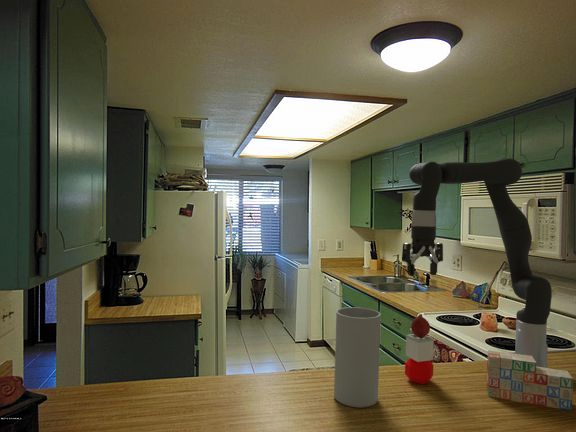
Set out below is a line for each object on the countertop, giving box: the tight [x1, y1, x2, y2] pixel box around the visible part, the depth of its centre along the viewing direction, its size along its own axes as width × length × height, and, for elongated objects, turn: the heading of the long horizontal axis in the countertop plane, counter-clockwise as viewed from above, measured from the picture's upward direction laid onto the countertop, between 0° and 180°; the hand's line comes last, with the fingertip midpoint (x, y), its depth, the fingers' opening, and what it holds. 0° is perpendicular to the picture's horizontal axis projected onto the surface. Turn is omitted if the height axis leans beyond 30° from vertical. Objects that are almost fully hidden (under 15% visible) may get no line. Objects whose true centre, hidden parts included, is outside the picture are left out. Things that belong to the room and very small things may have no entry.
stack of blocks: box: [486, 350, 574, 411], centre depth 123 cm, size 21×6×12 cm, turn 68°
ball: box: [404, 358, 434, 385], centre depth 134 cm, size 8×8×8 cm
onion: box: [410, 313, 431, 339], centre depth 134 cm, size 6×6×8 cm
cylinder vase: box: [333, 306, 381, 409], centre depth 120 cm, size 12×12×25 cm
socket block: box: [405, 333, 435, 362], centre depth 134 cm, size 6×6×7 cm
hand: (422, 275), depth 134 cm, fingers open, 8 cm apart
